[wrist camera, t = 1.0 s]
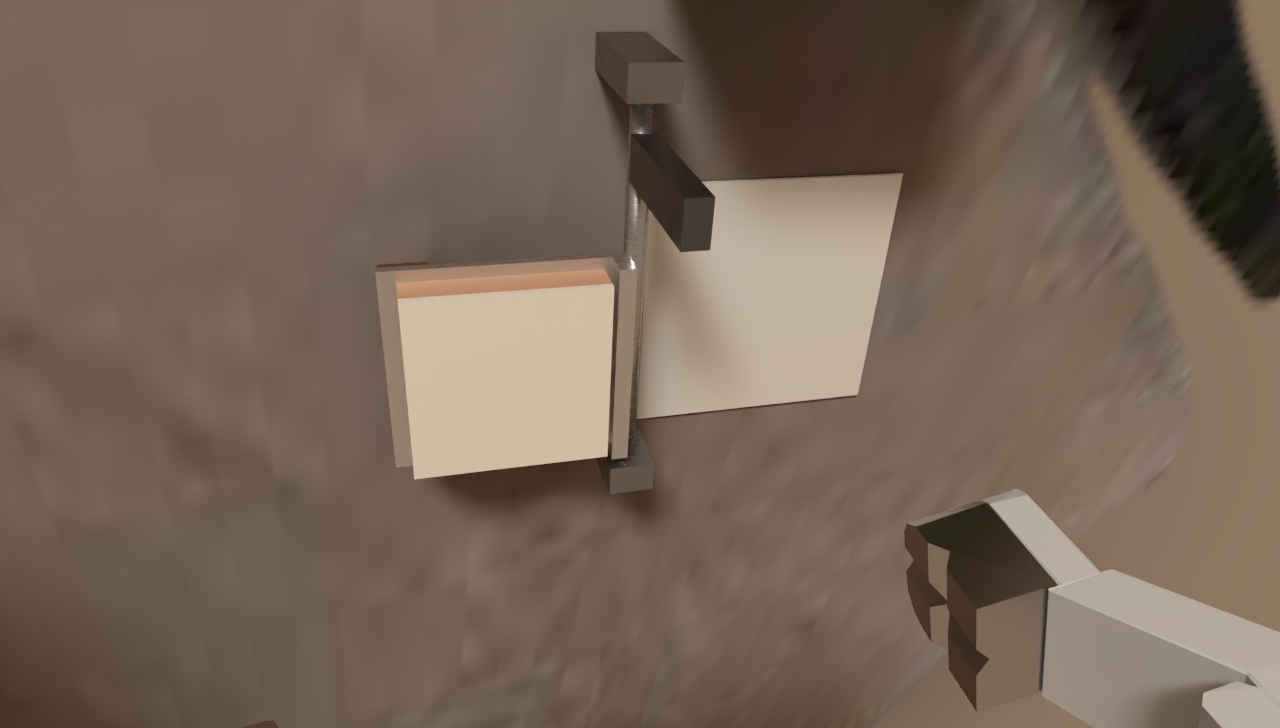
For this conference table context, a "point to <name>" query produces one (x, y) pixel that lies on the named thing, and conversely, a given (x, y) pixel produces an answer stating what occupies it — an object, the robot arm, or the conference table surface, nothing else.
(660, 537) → the conference table surface
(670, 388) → the mat
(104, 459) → the conference table surface
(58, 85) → the conference table surface
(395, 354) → the flipper
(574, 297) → the tile
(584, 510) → the conference table surface
